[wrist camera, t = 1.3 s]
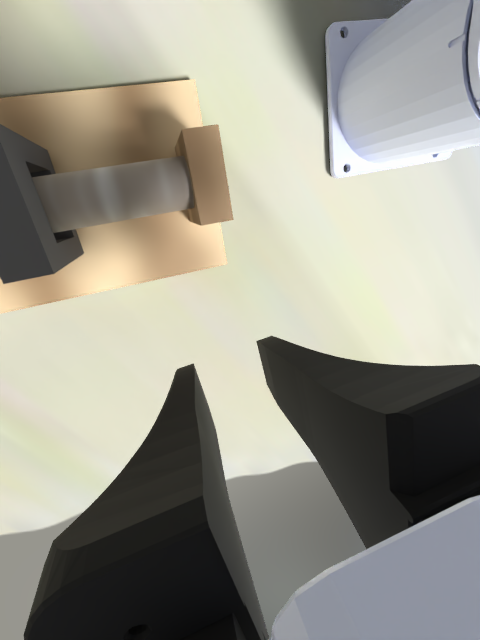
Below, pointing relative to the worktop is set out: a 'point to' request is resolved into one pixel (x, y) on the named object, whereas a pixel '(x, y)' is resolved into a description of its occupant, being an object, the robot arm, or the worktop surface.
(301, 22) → the worktop surface
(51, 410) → the worktop surface
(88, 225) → the pipe rig
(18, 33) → the worktop surface
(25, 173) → the collar
